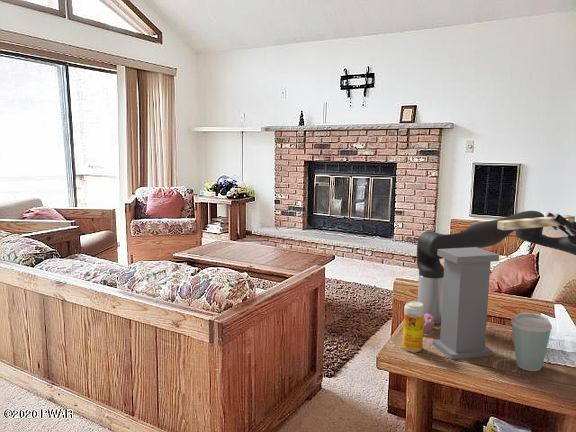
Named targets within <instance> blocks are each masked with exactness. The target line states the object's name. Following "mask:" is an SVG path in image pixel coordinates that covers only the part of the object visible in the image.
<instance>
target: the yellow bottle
mask: <svg viewBox="0 0 576 432" xmlns="http://www.w3.org/2000/svg"><path fill="white" fill-rule="evenodd" d="M403 310H404V311H403V312H404V313H403V330H402V331H403V332H402V347H403V348H404V350H406V351H407V352H409V351H410V352H409V353H419V352H421V350H422V349H423V342H424V334H423V325H424V306H423V304H422V303H420V302H418V301H415V300H413V301H411V300H409V301H406V303H405V305H404V309H403Z"/></svg>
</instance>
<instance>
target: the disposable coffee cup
mask: <svg viewBox="0 0 576 432" xmlns="http://www.w3.org/2000/svg"><path fill="white" fill-rule="evenodd" d="M510 323H511V328H512V338H513V345H514V355H515V362H516V364H517V367H518V368H520V369H521V370H525V371H529V372H538V371H540V370H541V369H542V367H543V365H544V361H545V356H546V351H547V348H548V345H549V339H550V335H551V331H552V329H553V328H552V327H553V326H552V323H551V322H550V319H548V318H547V317H546V316H544V315H542V314H538V313H533V312H520V313H519V312H518V313H516V314H515V315H514V316H513V318H511V320H510Z"/></svg>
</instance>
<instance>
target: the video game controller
mask: <svg viewBox="0 0 576 432" xmlns="http://www.w3.org/2000/svg"><path fill="white" fill-rule="evenodd" d="M434 328H435V324H434V322H433V316H432V315H431V314H427V313H426V314H424V325H423V335H425V334H427V333H429V332H430V331H432V329H433V330H434Z"/></svg>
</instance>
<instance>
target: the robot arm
mask: <svg viewBox="0 0 576 432" xmlns="http://www.w3.org/2000/svg"><path fill="white" fill-rule="evenodd" d="M551 216H555V217H554V220H555V221H556V222H558V223H559V224H561V225H559V226H551V228H552V229H554V230H555V231H558V230H559V231H560V232H562V234H564V235H565V236H561V237H556V236H554V237H553V236H552V237H551V236H547V235H545V234H543V231H544V227H536V228H525V229H514V230H500V229H497V222H498V221H503V220H515V219H527V218H539V217H551ZM514 231H515V232H514ZM513 232H514V233H515V236H516V237H517V238H519V240H522V241H525V242H527V243H531V244H534V245H538V246H542V247H546V248H549V249H552V250H553V249H554V250H559V251H562V252H565V253H568V254H571V255H573V256H576V220H575V221H570V220H569V219H565V218H564V217H562V215H561V214H559V213H556V214H555V215H554V214H553V213H552V212H547V213H546V215H545V214H543V213H542V212H541V211H538V210H524V211H521V212H517V213H515V214H512V215H508V216H506V217H502V218H497V219H493V220H488V221H483V222H477V223H475V224H472V225H469V226H468V227H467V228H465V229H463V231H460V232H455V233H449V234H443V233H439V232H435V231H432V230H426V231H424V232H422V233H421V234H420V235H419V237H418V239H417V243H416V266H417V268H418V285H417V302H420V303H422V304H423V306H424V314H426V313H427V314H431V315H432V316H433V322H434V325H437V324H441V315H442V296H443V278H444V265H443V264H442V262H441V260H442V259H444V258H443V257H440V256H438V255H437V251H438V249H449V248H469V247H478V248H481V249H483V248H487V247H492V246H495V245H497V244H499V243H501V242H502V241H504V240H505V238H507V237H508V236H509V235H510V234H512V233H513Z"/></svg>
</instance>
